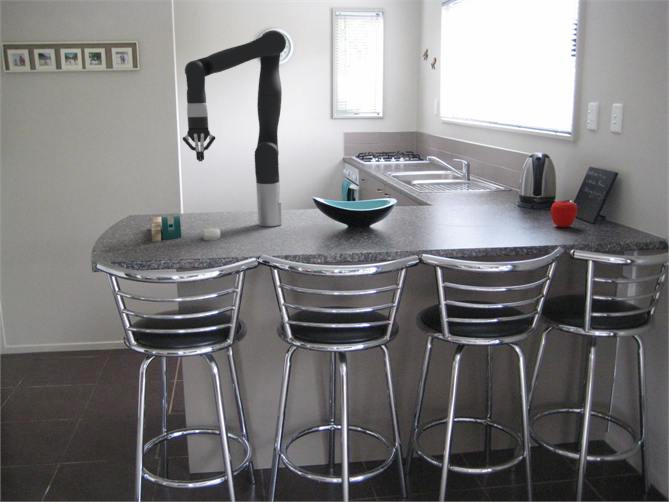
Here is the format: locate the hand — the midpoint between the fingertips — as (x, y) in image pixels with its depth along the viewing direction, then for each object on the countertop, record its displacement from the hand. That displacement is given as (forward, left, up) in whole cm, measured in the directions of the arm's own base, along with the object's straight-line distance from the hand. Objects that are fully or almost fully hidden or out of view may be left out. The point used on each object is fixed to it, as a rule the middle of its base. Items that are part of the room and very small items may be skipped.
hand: (200, 161), depth 257 cm
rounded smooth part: (-2, +16, -27) cm, 32 cm away
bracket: (+13, +3, -28) cm, 30 cm away
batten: (+18, +4, -27) cm, 33 cm away
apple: (-136, +35, -27) cm, 143 cm away
